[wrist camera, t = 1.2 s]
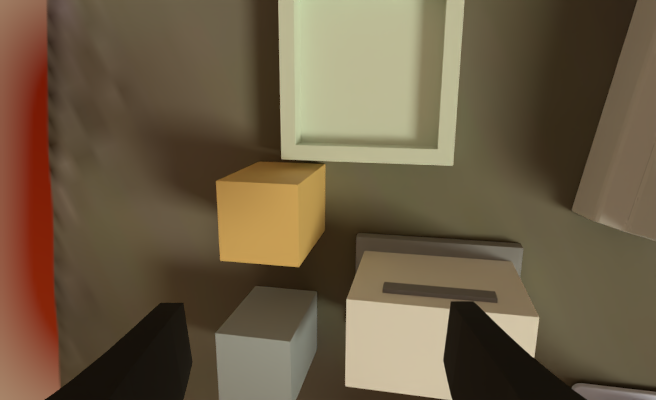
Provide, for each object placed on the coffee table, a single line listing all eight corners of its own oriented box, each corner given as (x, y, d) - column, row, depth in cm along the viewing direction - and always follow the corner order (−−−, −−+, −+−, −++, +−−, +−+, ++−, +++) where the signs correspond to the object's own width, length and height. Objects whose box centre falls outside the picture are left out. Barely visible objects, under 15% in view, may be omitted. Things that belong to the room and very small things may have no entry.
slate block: (317, 349, 30) (291, 411, 24) (257, 342, 31) (219, 400, 25) (317, 291, 29) (290, 341, 23) (255, 285, 30) (215, 333, 24)
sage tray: (451, 159, 25) (453, 165, 24) (291, 154, 27) (281, 159, 25) (463, -20, 23) (466, -29, 21) (288, -13, 25) (277, -21, 23)
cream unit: (509, 341, 27) (537, 427, 20) (356, 325, 29) (334, 399, 22) (520, 243, 26) (554, 300, 19) (358, 232, 27) (335, 281, 21)
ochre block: (325, 230, 28) (298, 267, 22) (261, 225, 29) (220, 260, 23) (325, 163, 27) (297, 184, 21) (259, 161, 28) (215, 180, 22)
